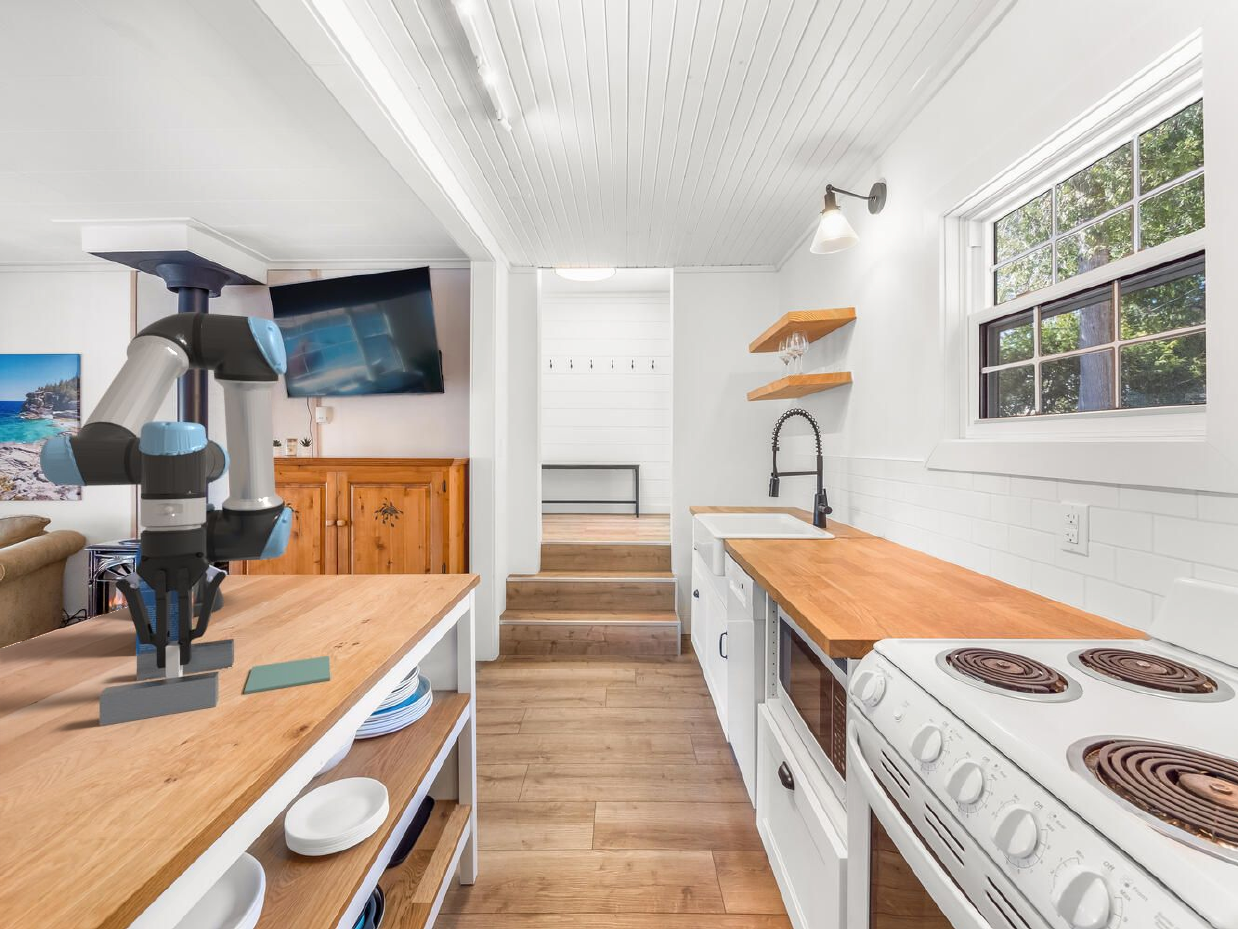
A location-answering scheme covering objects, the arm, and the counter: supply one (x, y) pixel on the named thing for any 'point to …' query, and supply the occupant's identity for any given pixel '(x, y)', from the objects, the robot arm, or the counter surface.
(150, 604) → the blue food package
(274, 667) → the mat
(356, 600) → the counter surface
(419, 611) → the counter surface
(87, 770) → the counter surface
